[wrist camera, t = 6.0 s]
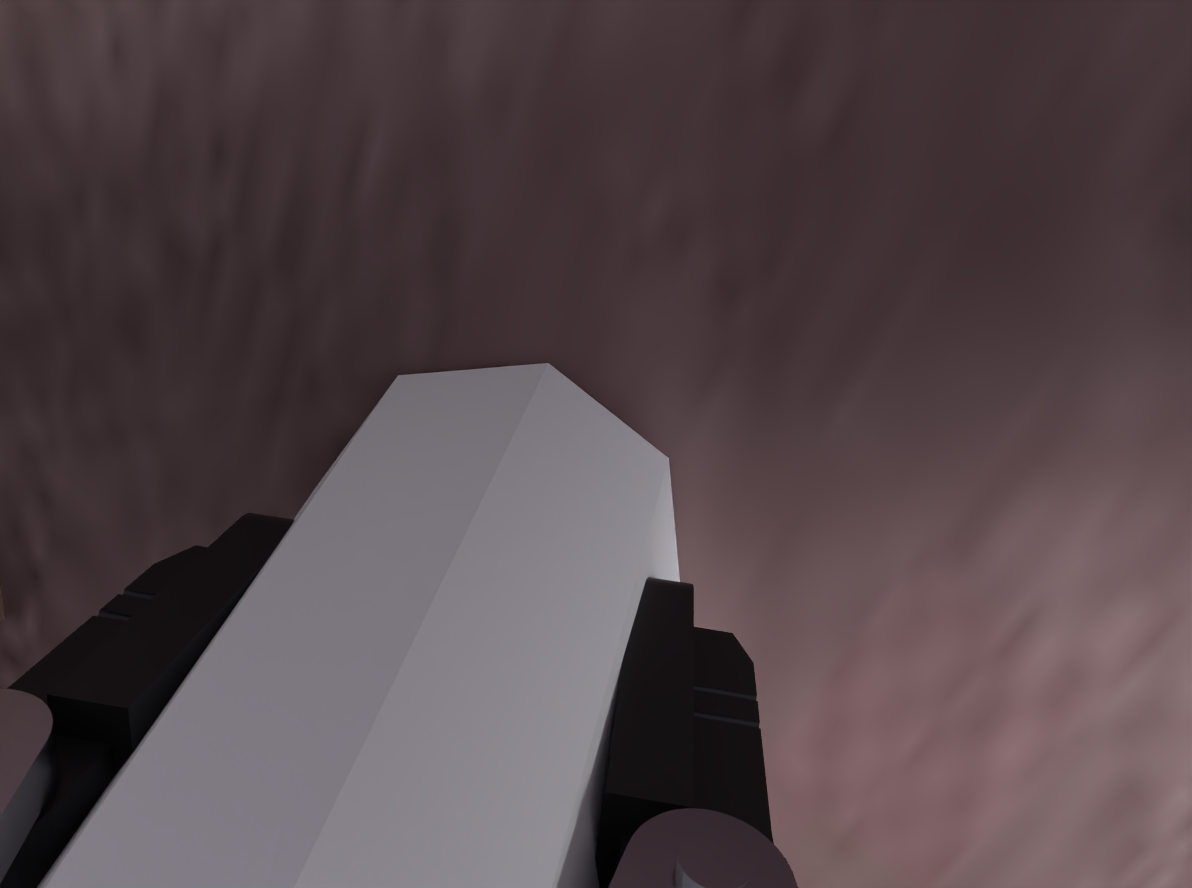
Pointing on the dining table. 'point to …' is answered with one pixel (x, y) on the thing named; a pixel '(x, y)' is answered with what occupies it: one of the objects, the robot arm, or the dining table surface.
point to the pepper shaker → (411, 661)
